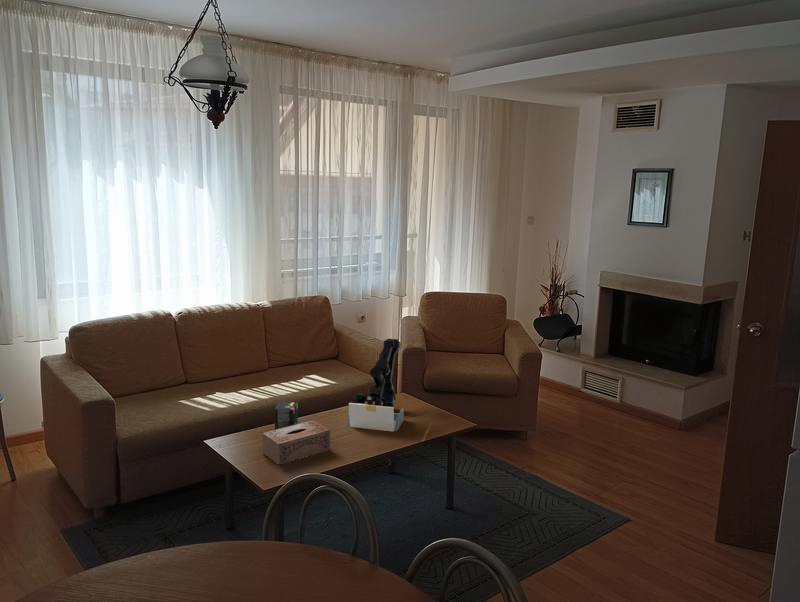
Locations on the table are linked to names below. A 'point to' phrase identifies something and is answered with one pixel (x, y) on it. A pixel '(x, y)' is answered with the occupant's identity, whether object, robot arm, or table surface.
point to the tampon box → (286, 414)
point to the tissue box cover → (296, 441)
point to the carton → (397, 418)
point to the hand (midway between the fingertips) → (371, 415)
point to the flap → (371, 417)
